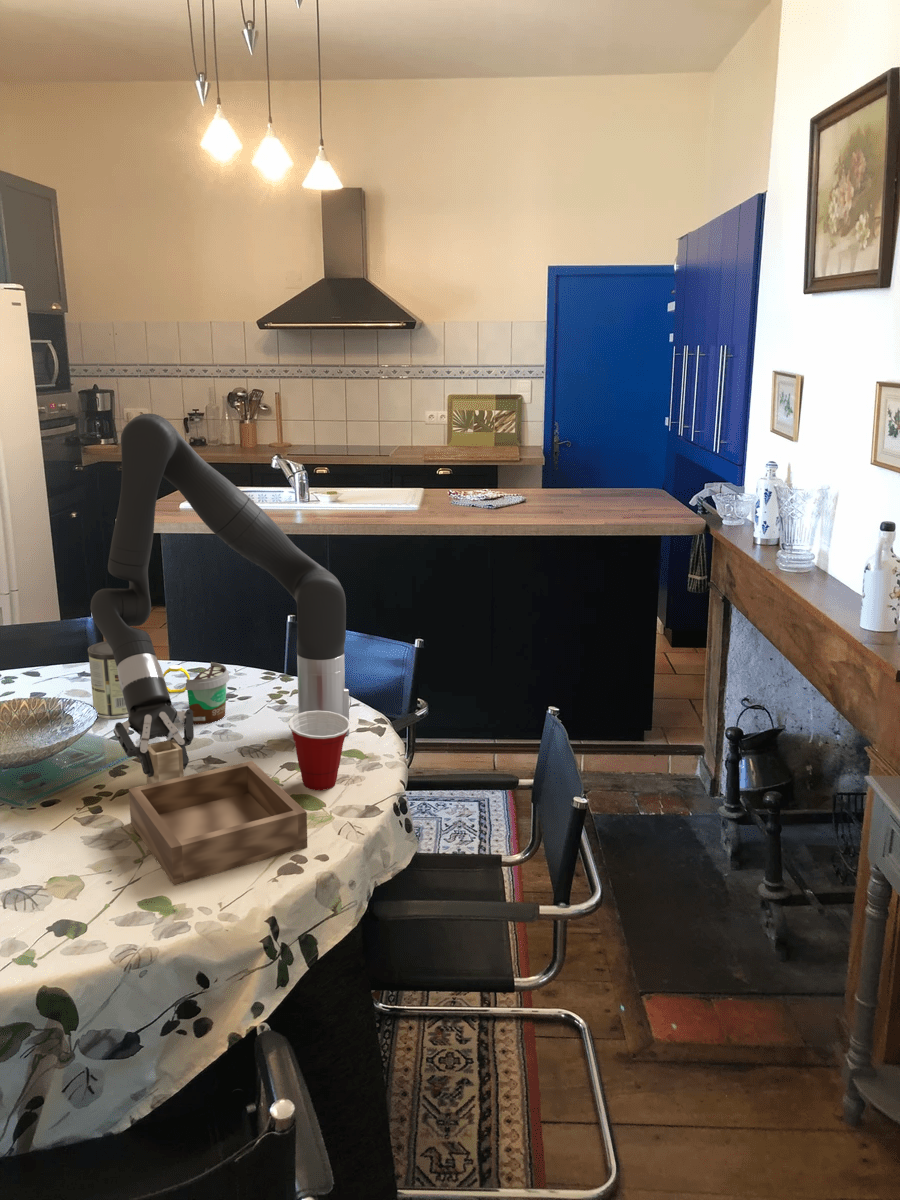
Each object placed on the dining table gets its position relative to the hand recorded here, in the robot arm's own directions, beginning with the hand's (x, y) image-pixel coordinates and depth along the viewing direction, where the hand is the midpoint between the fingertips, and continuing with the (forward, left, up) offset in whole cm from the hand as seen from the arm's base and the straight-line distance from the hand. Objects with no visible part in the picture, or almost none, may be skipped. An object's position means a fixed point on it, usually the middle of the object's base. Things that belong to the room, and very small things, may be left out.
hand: (168, 771), depth 164 cm
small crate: (0, -2, -4) cm, 5 cm away
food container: (-19, -30, -4) cm, 36 cm away
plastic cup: (-24, +10, -4) cm, 26 cm away
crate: (-2, +18, -4) cm, 19 cm away
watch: (-17, -49, -4) cm, 52 cm away
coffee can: (-3, -44, -4) cm, 44 cm away
